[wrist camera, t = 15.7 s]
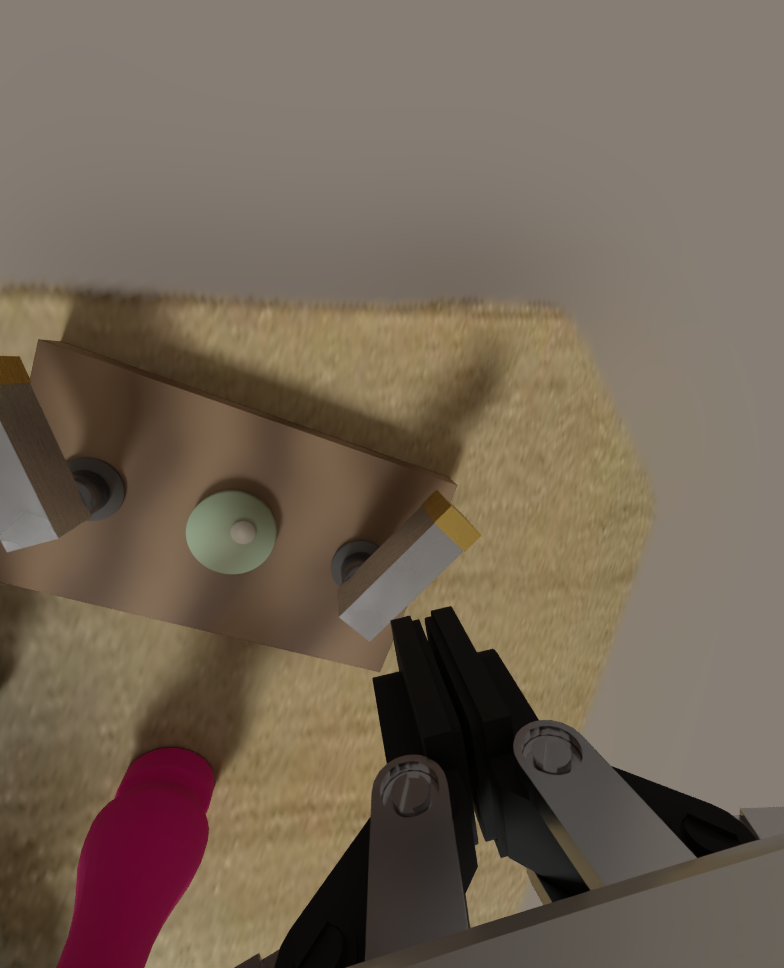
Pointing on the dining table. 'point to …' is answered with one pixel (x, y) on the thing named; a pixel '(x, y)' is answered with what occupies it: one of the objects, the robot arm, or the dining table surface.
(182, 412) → the level plate
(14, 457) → the gold-tipped grey bar
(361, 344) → the dining table surface
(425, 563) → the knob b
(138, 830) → the pepper mill
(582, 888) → the robot arm
